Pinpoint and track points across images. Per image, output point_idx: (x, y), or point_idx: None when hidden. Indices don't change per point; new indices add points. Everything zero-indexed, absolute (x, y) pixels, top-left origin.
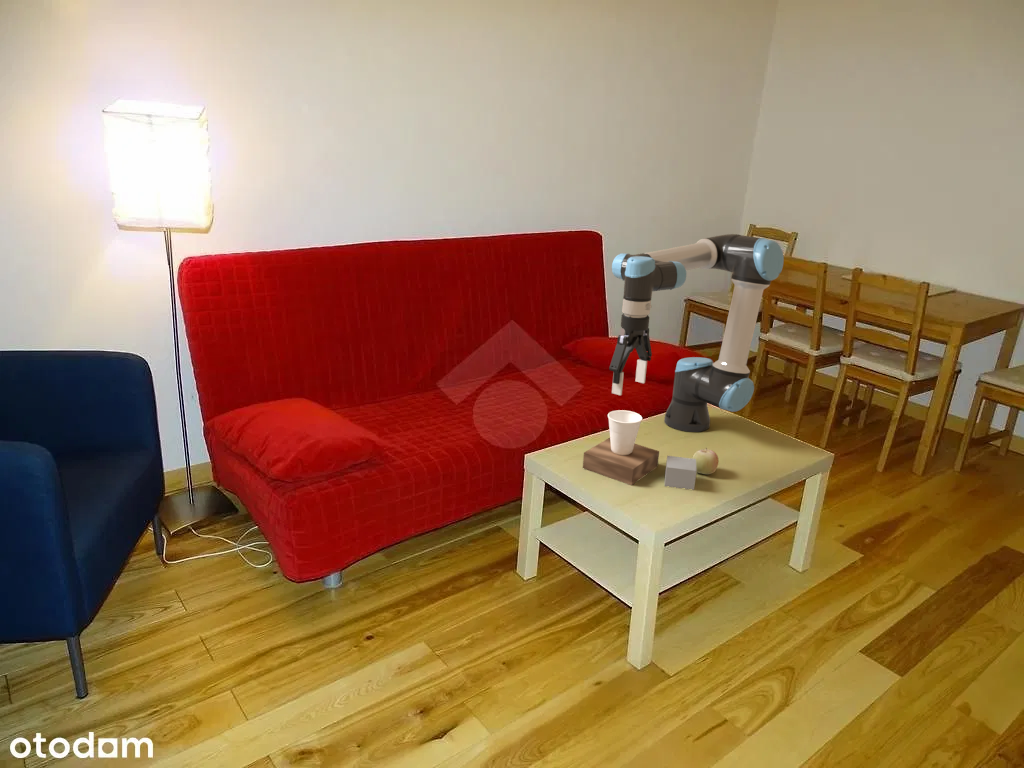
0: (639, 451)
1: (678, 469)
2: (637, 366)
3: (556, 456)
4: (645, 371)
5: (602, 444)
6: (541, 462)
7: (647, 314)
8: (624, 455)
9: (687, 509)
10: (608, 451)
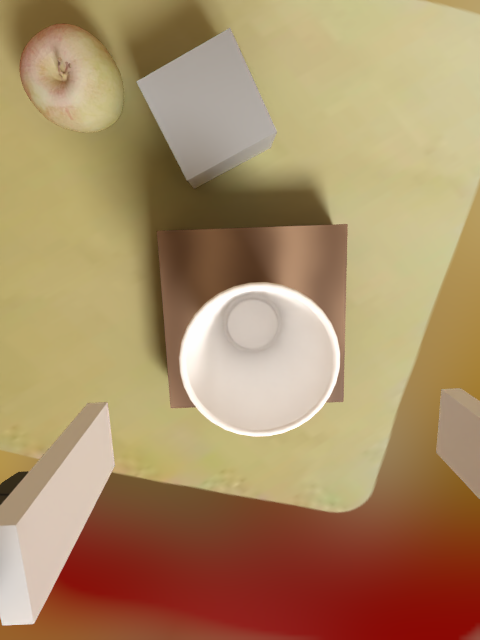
0: (209, 280)
1: (258, 92)
2: (67, 551)
3: (314, 470)
4: (56, 453)
5: None
6: (372, 475)
7: None
8: None
9: (362, 14)
10: None
